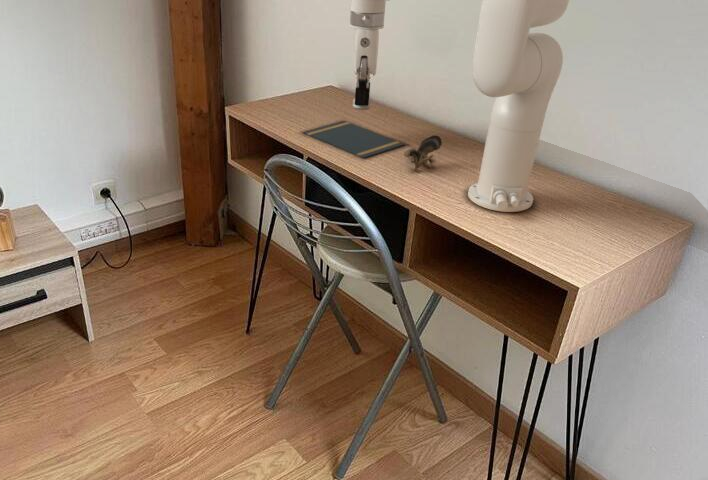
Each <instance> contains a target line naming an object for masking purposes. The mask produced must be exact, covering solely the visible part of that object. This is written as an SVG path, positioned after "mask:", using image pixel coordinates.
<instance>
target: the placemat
mask: <svg viewBox="0 0 708 480" xmlns="http://www.w3.org/2000/svg"><path fill="white" fill-rule="evenodd" d="M302 134H305V135H306V136H309V137H312V138H313V139H316V140H319V141H320V142H321V141H322V142H324V143H326V144H329V145H330V146H333V147H336V148H338V149H340V150H343V151H345V152H348V153H350V154H352V155H354V156H358V157H359V158H361V159H367V158H370V157H374V156H377V155H379V154H382V153H385V152H388V151H391V150H394V149H397V148H400V147H404V146H405V145H406V143H403V142H401V141H399V140H396V139H393V138H390V137H387V136H385V135H382V134H380V133H377V132H375V131H372V130H368V129H366V128H364V127H361V126H359V125H356V124H354V123H350V122H348V121H345V120H343V121H338V122H335V123H331V124H327V125H324V126H320V127H317V128H313V129H310V130H309V129H308V130H305V131H303V133H302Z"/></svg>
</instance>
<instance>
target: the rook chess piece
mask: <svg viewBox="0 0 708 480" xmlns="http://www.w3.org/2000/svg"><path fill="white" fill-rule="evenodd" d="M359 74H360V73H359ZM366 74H368V73H367V72H366ZM355 78H356V79H357V76H356V77H355ZM366 78H367V77H366ZM370 79H371V75H370V76H369V80H370ZM366 85H367V83H366ZM371 104H372V100H371V99H370V96H369V104H368V106H360V105H355V98H353V99H352V105H351V106H352V107H353V109H354V110H358V111H367V110H370V109H371V107H372V105H371Z"/></svg>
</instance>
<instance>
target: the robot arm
mask: <svg viewBox="0 0 708 480" xmlns="http://www.w3.org/2000/svg"><path fill="white" fill-rule="evenodd" d="M388 1H389V0H350V18H349V27H350V28H351V29H355V30H354V44H353V45H354V47H353V66H354V68H353V69H354V74H355V75H356V77H357V78H356V87H355V91H354V92H355V93H354V99H355V105H360V106H368V104H369V99H370V98H369V97H370V94H371V82H370V79H369V76H370V77H371V75H372V77H373V76H375V75H376V74H377V66H378V55H379V40H380V39H379V38H380V33H379V31H380V30H381V29H384V27H385V15H386V3H387V2H388ZM569 2H570V0H482V1H481V6H480V11H479V17H478V23H477V29H476V36H475V42H474V49H473V56H472V62H471V63H472V64H471V70H472V71H471V74H472V79H473V82H474V85H475V87H476V88H477V90H478V91H479V92H480V93H481V94H483V95H484V96H486V97H490V98H495V100H494V103H493V105H492V109H491V114H490V118H489V123H488V128H487V133H486V139H485V144H484V148H483V149H484V150H483V155H482V160H481V165H480V170H479V174H478V175H479V176H478V180H477V182H476V183H473V184H471V186H470V187H469V188H468V192H467V196H468V199H470V201H471V202H473V203H474V204H475V205H477V206H479V207H482V208H484V209H488V210H491V211H496V212H503V213H516V212H523V211H526V210H528V209H529V208H531V207H532V205H533V202H534V196H533V194H532V193H531V192H530V191H529V190H528V188H529V185H530V179H531V175H532V172H533V168H534V167H533V166H534V163H535V160H536V155H537V150H538V147H539V140H540V138H541V133H542V129H543V125H544V121H545V118H546V113H547V110H548V107H549V103H550V100H551V97H552V94H553V92H554V90H555V87H556V85H557V83H558V80H559V78H560V76H561V71H562V69H563V63H564V62H563V61H564V60H563V59H564V55H563V51H562V48H561V44H560V43H559V42H558V41H557V39H555V38H554V37H553V36H552V35H549V34H546V33H544V32H530V30H531V29H533V28H538V27H542V26H547V25H550V24H553V23H555V22H557V21H558V20H559V19H560V18H561V17H562V16H563V15H564V14H565V12H566V10H567V8H568V5H569ZM366 72H367V73H368V74H366ZM359 73H360V74H359ZM366 77H367V78H366ZM366 83H367V85H366Z"/></svg>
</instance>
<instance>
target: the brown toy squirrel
mask: <svg viewBox="0 0 708 480" xmlns="http://www.w3.org/2000/svg"><path fill="white" fill-rule="evenodd" d="M442 144H443V141H442V138H441V137H440V135H435V134H434V135H431V136H428V137H427V138H424V139H423V140H422V141H421V143H420V145H419V146H418V149H416V148H415V147H414V146H412V147H409V148H407V149H405V150H404V152H403V156H404V157H405V158H410V157H412V158H413V159H414V160H411V161H410V163H412V164H414V169H413V172H416V171H417V170H418V169H419V168H420V167H421V166H422V164H425V165H426V166H427V167H429V169H431V168H432V166H431V162H430V160H431V159H432V158H433V157H434V155H433V154H431V153H433V152H434V151H438V150H440V149H441V146H442ZM429 154H431V155H429ZM428 155H429V156H428Z"/></svg>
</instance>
